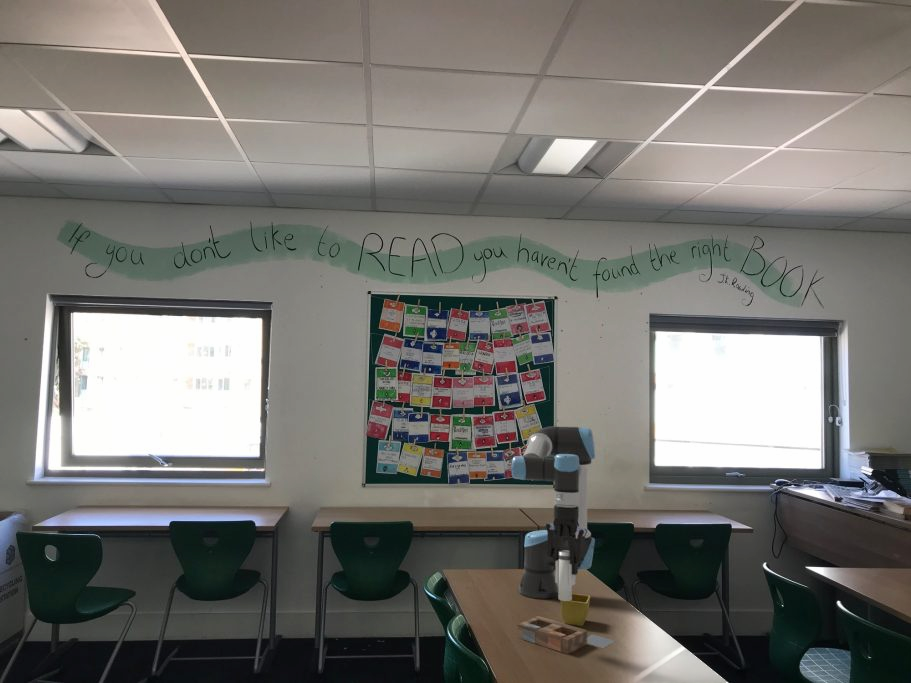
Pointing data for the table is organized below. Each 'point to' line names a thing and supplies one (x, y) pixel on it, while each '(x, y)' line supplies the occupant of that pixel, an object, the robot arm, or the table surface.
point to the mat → (598, 641)
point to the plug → (564, 576)
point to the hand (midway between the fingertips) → (565, 583)
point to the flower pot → (575, 609)
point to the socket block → (552, 634)
